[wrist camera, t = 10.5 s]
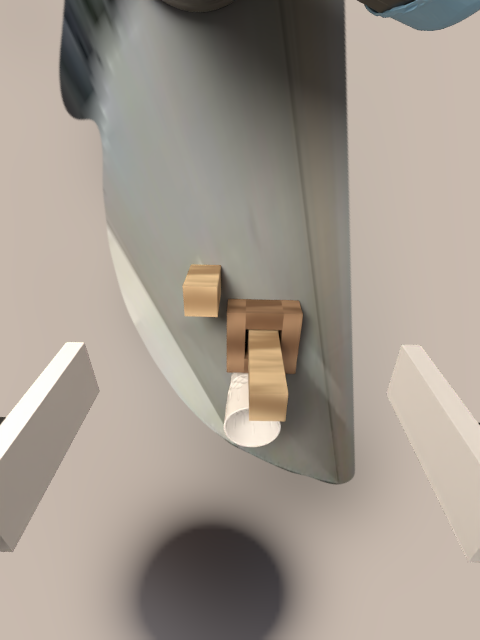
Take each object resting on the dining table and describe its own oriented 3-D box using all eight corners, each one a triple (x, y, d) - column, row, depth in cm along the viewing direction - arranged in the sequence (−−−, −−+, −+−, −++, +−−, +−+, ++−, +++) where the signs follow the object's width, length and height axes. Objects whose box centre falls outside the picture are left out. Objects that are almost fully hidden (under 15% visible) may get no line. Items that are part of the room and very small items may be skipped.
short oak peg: (191, 264, 45) (182, 286, 39) (220, 265, 45) (217, 286, 39) (192, 291, 47) (184, 316, 41) (221, 292, 47) (217, 316, 41)
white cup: (260, 353, 52) (263, 399, 43) (283, 387, 55) (290, 435, 47) (217, 373, 54) (212, 420, 45) (242, 404, 57) (241, 453, 49)
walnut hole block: (228, 298, 47) (226, 312, 44) (298, 300, 47) (302, 314, 44) (228, 356, 52) (226, 372, 49) (291, 357, 52) (295, 373, 49)
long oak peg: (248, 317, 49) (250, 393, 35) (275, 318, 49) (288, 394, 35) (247, 340, 51) (248, 420, 37) (274, 340, 51) (285, 421, 37)
